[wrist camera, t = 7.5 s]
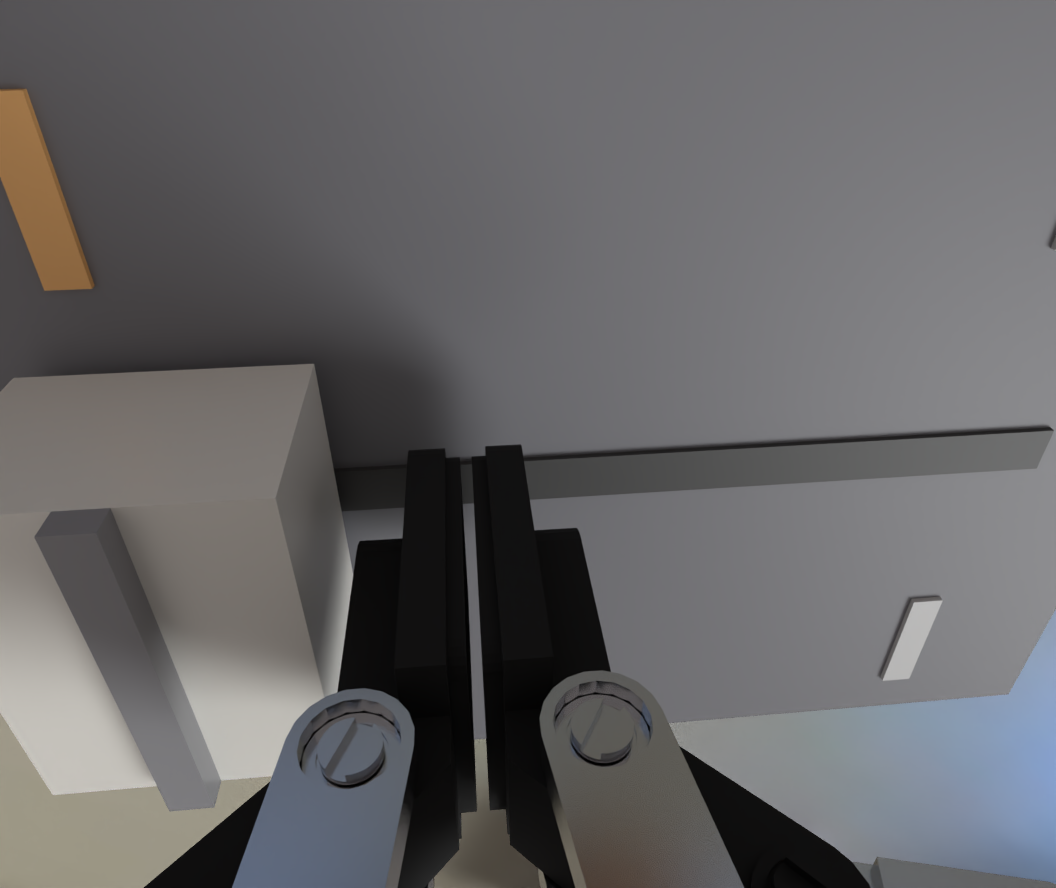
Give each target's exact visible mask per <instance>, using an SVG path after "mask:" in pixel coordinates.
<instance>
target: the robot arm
mask: <svg viewBox="0 0 1056 888" xmlns="http://www.w3.org/2000/svg"><path fill="white" fill-rule="evenodd" d="M472 477H473V497H474V517H475V537H476V557H477V576H478V596H479V615H480V633H481V652H482V670H483V689H484V707H485V726H486V745H487V763H488V782H489V800H490V810H499V809H506V817H507V831H508V834H510V845H511V846H513V847H514V848H515V849H516V850H517V851H518V852H520V853H521V854H522V855H523V856H524V857H526V858H527V859H528V860H529V861H530V862H531V863H533V864H534V865H535V866H536V867H537V868H538V877H539V883H540V887H541V888H1056V884H1054V883H1050V882H1045V881H1038V880H1032V879H1025V878H1018V877H1011V876H1004V875H997V874H991V873H984V872H977V871H970V870H963V869H956V868H949V867H943V866H936V865H929V864H922V863H915V862H908V861H901V860H895V859H888V858H881V857H877V858H876V860H875V862H874V864H873V865H871V864H864V863H857V862H851V861H850V860H849V859H848V858H846V857H845V856H844V855H843V854H842V853H840V852H839V851H838V850H837V849H836V848H834V847H833V846H831V845H830V844H828V843H827V842H825V841H824V840H822V839H821V838H819V837H818V836H816V835H815V834H813V833H812V832H810V831H809V830H807V829H805V828H804V827H802V826H801V825H799V824H798V823H796V822H795V821H793V820H792V819H790V818H789V817H787V816H786V815H784V814H783V813H781V812H779V811H778V810H776V809H775V808H773V807H772V806H770V805H769V804H767V803H766V802H764V801H763V800H761V799H760V798H758V797H756V796H755V795H753V794H752V793H750V792H749V791H747V790H746V789H744V788H743V787H741V786H740V785H738V784H737V783H735V782H734V781H732V780H730V779H729V778H727V777H726V776H724V775H723V774H721V773H720V772H718V771H717V770H715V769H714V768H712V767H711V766H709V765H707V764H706V763H704V762H703V761H701V760H700V759H698V758H697V757H695V756H694V755H692V754H691V753H689V752H688V751H686V750H685V749H683V748H681V747H680V746H679V745H678V742H677V740H676V738H675V736H674V734H673V732H672V729H671V727H670V725H669V723H668V721H667V718H666V716H665V714H664V712H663V710H662V708H661V706H660V705H659V703H658V702H657V700H656V699H655V697H654V696H653V694H652V693H651V692H649V691H648V690H647V689H646V688H645V687H643V686H642V685H641V684H640V683H639V682H637V681H635V680H633V679H631V678H629V677H626V676H624V675H622V674H619V673H613V672H611V669H610V665H609V660H608V656H607V651H606V647H605V642H604V638H603V634H602V629H601V625H600V620H599V616H598V611H597V607H596V602H595V598H594V594H593V589H592V585H591V580H590V576H589V571H588V567H587V562H586V558H585V554H584V549H583V545H582V540H581V536H580V533H579V530H578V529H577V528H564V529H548V530H534V524H533V517H532V511H531V504H530V498H529V491H528V484H527V478H526V471H525V465H524V458H523V451H522V446H521V444H517V445H498V446H485V456H472ZM476 811H477V803H476V777H475V751H474V725H473V700H472V674H471V649H470V623H469V599H468V581H467V565H466V548H465V532H464V516H463V499H462V483H461V466H460V457H453V458H446V452H445V448H440V449H421V450H409V451H408V459H407V475H406V491H405V506H404V522H403V537H402V538H400V539H383V540H367V541H359V543H358V546H357V551H356V558H355V566H354V573H353V580H352V588H351V595H350V602H349V610H348V617H347V625H346V632H345V639H344V647H343V654H342V661H341V669H340V676H339V683H338V691H337V693H334V694H331V695H328V696H326V697H324V698H323V699H321V700H319V701H318V702H316V703H315V704H313V705H312V706H310V707H309V708H308V709H307V710H306V711H305V712H304V713H303V714H302V715H301V716H300V717H299V718H298V719H297V720H296V721H295V722H294V724H293V726H292V728H291V730H290V732H289V734H288V735H287V737H286V739H285V742H284V745H283V747H282V750H281V753H280V756H279V759H278V761H277V764H276V767H275V770H274V772H273V775H272V778H271V781H270V782H269V783H268V784H267V785H265V786H264V787H263V788H262V789H261V790H259V791H258V792H257V793H256V794H255V795H254V796H252V797H251V798H250V799H249V800H248V801H246V802H245V803H244V804H243V805H242V806H240V807H239V808H238V809H237V810H236V811H234V812H233V813H232V814H231V815H230V816H229V817H227V818H226V819H225V820H224V821H223V822H221V823H220V824H219V825H218V826H217V827H215V828H214V829H213V830H212V831H211V832H209V833H208V834H207V835H206V836H205V837H204V838H202V839H201V840H200V841H199V842H198V843H196V844H195V845H194V846H193V847H192V848H190V849H189V850H188V851H187V852H186V853H184V854H183V855H182V856H181V857H180V858H178V859H177V860H176V861H175V862H174V863H173V864H171V865H170V866H169V867H168V868H167V869H165V870H164V871H163V872H162V873H161V874H159V875H158V876H157V877H156V878H155V879H153V880H152V881H151V882H150V883H149V884H148V885H146V886H145V887H144V888H434V877H435V875H436V874H437V873H438V872H439V871H440V870H441V869H442V868H443V867H444V865H445V864H446V863H447V862H448V861H449V860H450V859H451V858H452V857H453V855H454V854H455V853H456V852H457V851H458V850H459V839H462V836H461V813H465V812H476Z"/></svg>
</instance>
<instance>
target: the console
mask: <svg viewBox="0 0 1056 888" xmlns="http://www.w3.org/2000/svg"><path fill="white" fill-rule="evenodd" d="M296 364H314V366H315V371H316V376H317V382H318V387H319V393H320V398H321V403H322V409H323V414H324V420H325V425H326V430H327V436H328V441H329V447H330V452H331V457H332V463H333V468H334V474H335V479H336V484H337V490H338V495H339V501H340V506H341V511H342V517H343V522H344V528H345V533H346V538H347V544H348V549H349V555H350V560H351V565H352V571H353V573H354V566H355V558H356V551H357V546H358V543H359V541H367V540H383V539H400V538H402V537H403V522H404V506H405V491H406V475H407V459H408V451H409V450H421V449H440V448H445V452H446V458H453V457H460V466H461V483H462V499H463V516H464V532H465V548H466V565H467V581H468V599H469V623H470V649H471V674H472V700H473V725H474V739H485V738H486V726H485V707H484V689H483V670H482V652H481V633H480V615H479V596H478V576H477V557H476V537H475V517H474V497H473V477H472V456H485V446H498V445H517V444H521V446H522V451H523V458H524V465H525V471H526V478H527V484H528V491H529V498H530V504H531V511H532V517H533V524H534V530H548V529H564V528H577V529H578V530H579V533H580V536H581V540H582V545H583V549H584V554H585V558H586V562H587V567H588V571H589V576H590V580H591V585H592V589H593V594H594V598H595V602H596V607H597V611H598V616H599V620H600V625H601V629H602V634H603V638H604V642H605V647H606V651H607V656H608V660H609V665H610V669H611V672H613V673H619V674H622V675H624V676H626V677H629V678H631V679H633V680H635V681H637V682H639V683H640V684H641V685H642V686H643V687H645V688H646V689H647V690H648V691H649V692H651V693H652V694H653V696H654V697H655V699H656V700H657V702H658V703H659V705H660V706H661V708H662V710H663V712H664V714H665V716H666V718H667V721H668V723H675V722H686V721H698V720H710V719H722V718H734V717H746V716H757V715H769V714H781V713H793V712H805V711H817V710H828V709H840V708H852V707H864V706H876V705H887V704H899V703H911V702H923V701H935V700H947V699H958V698H970V697H982V696H994V695H1006V694H1009V692H1010V690H1011V689H1012V687H1013V685H1014V683H1015V681H1016V680H1017V678H1018V676H1019V674H1020V672H1021V671H1022V669H1023V667H1024V665H1025V663H1026V662H1027V660H1028V658H1029V656H1030V654H1031V653H1032V651H1033V649H1034V647H1035V645H1036V644H1037V642H1038V640H1039V638H1040V636H1041V635H1042V633H1043V631H1044V629H1045V627H1046V625H1047V624H1048V622H1049V620H1050V618H1051V616H1052V615H1053V613H1054V611H1055V609H1056V0H0V392H1V391H2V389H3V388H4V387H5V386H6V385H7V384H8V383H9V382H10V381H11V380H12V379H13V378H22V377H43V376H64V375H85V374H106V373H128V372H149V371H170V370H191V369H212V368H233V367H254V366H275V365H296Z"/></svg>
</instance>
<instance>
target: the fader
mask: <svg viewBox="0 0 1056 888" xmlns="http://www.w3.org/2000/svg"><path fill="white" fill-rule="evenodd" d="M352 580H353V571H352V565H351V560H350V555H349V549H348V544H347V538H346V533H345V528H344V522H343V517H342V511H341V506H340V501H339V495H338V490H337V484H336V479H335V474H334V468H333V463H332V457H331V452H330V447H329V441H328V436H327V430H326V425H325V420H324V414H323V409H322V403H321V398H320V393H319V387H318V382H317V376H316V371H315V366H314V364H296V365H275V366H254V367H233V368H212V369H191V370H170V371H149V372H128V373H106V374H85V375H64V376H43V377H22V378H13V379H12V380H11V381H10V382H9V383H8V384H7V385H6V386H5V387H4V388H3V389H2V391H1V392H0V713H1V715H2V716H3V718H4V719H5V721H6V722H7V724H8V726H9V727H10V729H11V730H12V732H13V733H14V735H15V736H16V738H17V740H18V741H19V743H20V744H21V746H22V747H23V749H24V751H25V752H26V754H27V755H28V757H29V758H30V760H31V762H32V763H33V765H34V766H35V768H36V769H37V771H38V773H39V774H40V776H41V777H42V779H43V780H44V782H45V784H46V785H47V787H48V788H49V790H50V791H51V793H52V795H59V794H71V793H82V792H94V791H105V790H117V789H129V788H140V787H152V786H157V787H158V789H159V791H160V793H161V795H162V797H163V799H164V801H165V803H166V805H167V807H168V809H169V811H179V810H190V809H201V808H213V807H215V803H216V799H217V795H218V791H219V787H220V783H221V780H233V779H244V778H256V777H267V776H272V775H273V772H274V770H275V767H276V764H277V761H278V759H279V756H280V753H281V750H282V747H283V745H284V742H285V739H286V737H287V735H288V734H289V732H290V730H291V728H292V726H293V724H294V722H295V721H296V720H297V719H298V718H299V717H300V716H301V715H302V714H303V713H304V712H305V711H306V710H307V709H308V708H309V707H310V706H312V705H313V704H315V703H316V702H318V701H319V700H321V699H323V698H324V697H326V696H328V695H331V694H334V693H337V691H338V683H339V676H340V669H341V661H342V654H343V647H344V639H345V632H346V625H347V617H348V610H349V602H350V595H351V588H352Z"/></svg>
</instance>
